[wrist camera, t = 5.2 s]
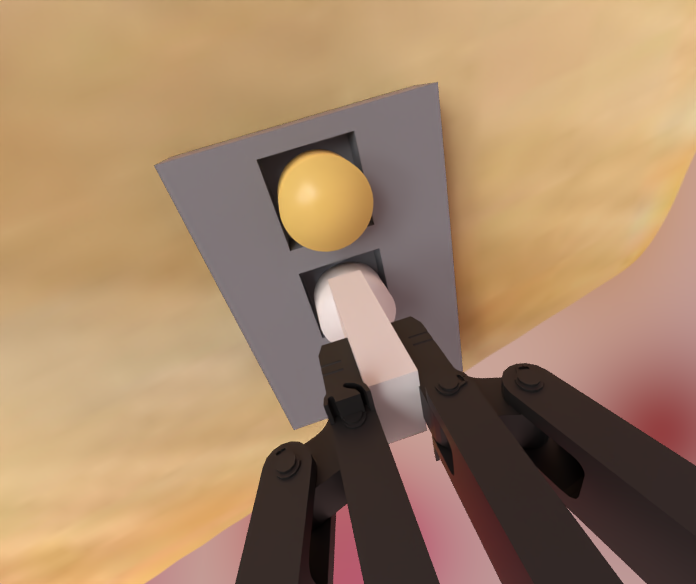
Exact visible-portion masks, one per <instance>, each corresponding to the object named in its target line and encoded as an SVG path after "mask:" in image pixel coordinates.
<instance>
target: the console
mask: <svg viewBox="0 0 696 584" xmlns="http://www.w3.org/2000/svg"><path fill="white" fill-rule="evenodd" d="M313 149H324V150H329V151H332V152H335V153H337V154H339V155H340V156H342V157H343V158H345V159H346V160H348V161H349V162H351V163H352V164H353V165H355V166H356V167H357V168H358V169H359V170H360V171H361V172H362V173H363V174H364V175H365V177H366V178H367V180H368V182H369V184H370V187H371V190H372V194H373V212H372V216H371V219H370V222H369V224H368V226H367V228H366V229H365V231H364V232H363V234H362V235H361V236H360V237H359V238H358V239H357V240H356V241H354V242H353V243H352V244H350V245H348V246H346V247H344V248H342V249H339V250H335V251H329V252H322V251H315V250H311V249H309V248H306V247H304V246H302V245H300V244H299V243H298V242H296V241H295V240H294V239H293V238H292V237H291V236H290V235H289V233H288V232H287V231H286V229H285V227H284V225H283V223H282V220H281V217H280V212H279V204H278V191H277V189H278V182H279V178H280V176H281V173H282V171H283V169H284V168H285V166H286V165H287V164H288V163H289V162H290V161H291V160H292V159H293V158H294V157H295V156H297V155H299V154H300V153H302V152H305V151H308V150H313ZM154 166H155V168H156V170H157V172H158V174H159V176H160V178H161V180H162V182H163V183H164V185H165V187H166V189H167V191H168V193H169V195H170V197H171V199H172V200H173V202H174V204H175V206H176V208H177V210H178V212H179V214H180V216H181V217H182V219H183V221H184V223H185V225H186V227H187V229H188V231H189V233H190V235H191V236H192V238H193V240H194V242H195V244H196V246H197V248H198V250H199V252H200V253H201V255H202V257H203V259H204V261H205V263H206V265H207V267H208V269H209V270H210V272H211V274H212V276H213V278H214V280H215V282H216V284H217V286H218V287H219V289H220V291H221V293H222V295H223V297H224V299H225V301H226V303H227V304H228V306H229V308H230V310H231V312H232V314H233V316H234V318H235V320H236V322H237V323H238V325H239V327H240V329H241V331H242V333H243V335H244V337H245V339H246V340H247V342H248V344H249V346H250V348H251V350H252V352H253V354H254V356H255V357H256V359H257V361H258V363H259V365H260V367H261V369H262V371H263V373H264V374H265V376H266V378H267V380H268V382H269V384H270V386H271V388H272V390H273V391H274V393H275V395H276V397H277V399H278V401H279V403H280V405H281V407H282V409H283V410H284V412H285V414H286V416H287V418H288V420H289V422H290V424H291V426H292V427H293V429H294V430H295V429H298V428H301V427H304V426H307V425H310V424H312V423H315V422H318V421H321V420H324V419H327V418H328V417H327V414H326V411H325V409H324V406H323V403H324V397H325V395H326V390H325V385H324V380H323V375H322V371H321V366H320V362H319V357H318V356H319V352H320V349H321V346H322V345H325V344H328V343H331V342H330V341H329V340H328V339H327V338H326V337H325V335H324V334H323V332H322V330H321V326H320V322H319V318H318V314H317V310H316V306H315V301H314V290H315V286H316V283H317V281H318V280H319V278H320V277H321V276H322V274H323V273H324V272H325V271H327V270H328V269H329V268H331V267H333V266H335V265H337V264H339V263H343V262H360V263H363V264H366V265H368V266H369V267H371V268H372V269H373V270H374V271H375V272H376V273H377V274H378V276H379V277H380V279H381V281H382V282H383V284H384V285H385V287H386V288H387V290H388V291H389V293H390V294H391V296H392V297H393V300H394V302H395V306H396V315H395V320H394V321H397V320H400V319H403V318H407V317H410V316H411V317H413V318H415V319H417V320H418V321H420V322H422V324H423V325H424V327H425V328H426V329H427V331H428V333H429V334H430V335H431V336H432V338H433V340H434V341H435V342H436V343H437V345H438V346H439V347H440V349H441V350H442V352H443V353H444V354H445V356H446V357H447V359H448V360H449V361H450V363H451V364H452V366H453V367H454V368H455V369H457V370H459V371H463V367H462V356H461V344H460V333H459V321H458V310H457V298H456V287H455V275H454V264H453V252H452V241H451V229H450V218H449V206H448V195H447V183H446V171H445V160H444V148H443V137H442V125H441V114H440V102H439V91H438V82H435V83H428V84H421V85H414V86H411V87H408V88H404V89H401V90H397V91H394V92H391V93H387V94H384V95H380V96H377V97H373V98H370V99H367V100H363V101H360V102H356V103H353V104H350V105H346V106H343V107H339V108H336V109H333V110H329V111H326V112H322V113H319V114H316V115H312V116H309V117H305V118H302V119H299V120H295V121H292V122H288V123H285V124H282V125H278V126H275V127H271V128H268V129H265V130H261V131H258V132H254V133H251V134H247V135H244V136H241V137H237V138H234V139H230V140H227V141H224V142H220V143H217V144H213V145H210V146H207V147H203V148H200V149H196V150H193V151H190V152H186V153H183V154H179V155H176V156H173V157H170V158H168V159H166V160H164V161H162V162H160V163H158V164H156V165H154Z"/></svg>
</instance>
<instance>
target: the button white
mask: <svg viewBox="0 0 696 584" xmlns="http://www.w3.org/2000/svg"><path fill="white" fill-rule="evenodd" d="M358 270H360V271H361V273H362V274H363V276H364V278H365V280H366V281H367V283H368V285H369V287H370V288H371V290H372V292H373V294H374V295H375V297H376V299H377V300H378V302H379V304H380V306H381V307H382V309H383V311H384V313H385V314H386V316H387V318H388V320H389V321H390V323H391V322H394V320H395V315H396V306H395V302H394V300H393V297H392V296H391V294H390V293H389V291H388V290H387V288H386V287H385V285H384V284H383V282H382V281H381V279H380V277H379V276H378V274H377V273H376V272H375V271H374V270H373V269H372V268H371V267H369V266H368V265H366V264H363V263H360V262H343V263H339V264H337V265H335V266H333V267H331V268H329V269H328V270H327V271H325V272H324V273H323V274H322V276H321V277H320V278H319V280H318V281H317V283H316V286H315V290H314V301H315V306H316V310H317V314H318V318H319V322H320V326H321V330H322V332H323V334H324V335H325V337H326V338H327V339H328V340H329V341H330V342H334V341H337V340H340V339H344V338H345V336H344V333H343V330H342V327H341V324H340V320H339V317H338V314H337V310H336V307H335V303H334V300H333V297H332V293H331V290H330V286H329V283H328V279H331V278H335V277H338V276H341V275H345V274H348V273H351V272H354V271H358Z"/></svg>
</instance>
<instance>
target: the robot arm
mask: <svg viewBox="0 0 696 584" xmlns="http://www.w3.org/2000/svg"><path fill="white" fill-rule="evenodd" d="M328 283H329V286H330V290H331V293H332V297H333V300H334V303H335V307H336V310H337V314H338V317H339V320H340V324H341V327H342V330H343V333H344V336H345V338H344V339H340V340H337V341H334V342H331V343H328V344H325V345H322V346H321V349H320V352H319V356H318V357H319V362H320V366H321V371H322V375H323V380H324V385H325V390H326V395H325V397H324V403H323V406H324V409H325V411H326V414H327V417H328V419H329V420H328V422H327V424H326V426H325V427H324V428H323V430H322V431H321V432H320V433H319V434H318V435H316V436H315V437H314V438H312V439H311V440H310V441H308V442H307V443H305V444H302V443H300V442H288V443H284V444H282V445H280V446H279V447H277V448H276V449H274V450H273V451H272V452H271V454H270V455H269V456H268V457H267V459H266V461H265V464H264V466H263V469H262V473H261V477H260V482H259V486H258V490H257V494H256V498H255V503H254V507H253V511H252V515H251V520H250V524H249V528H248V532H247V536H246V541H245V545H244V550H243V553H242V558H241V562H240V566H239V570H238V574H237V578H236V583H235V584H333V571H334V547H335V523H336V512H337V511H338V510H340V509H341V508H342V507H343V506H345V505H346V504H348V509H349V514H350V518H351V523H352V528H353V533H354V538H355V542H356V547H357V551H358V557H359V561H360V566H361V571H362V575H363V580H364V584H440V583H439V580H438V578H437V575H436V572H435V570H434V567H433V564H432V561H431V559H430V556H429V553H428V551H427V548H426V545H425V542H424V540H423V537H422V534H421V532H420V529H419V526H418V524H417V521H416V518H415V515H414V513H413V510H412V507H411V504H410V502H409V499H408V496H407V493H406V491H405V488H404V485H403V483H402V480H401V477H400V474H399V472H398V469H397V467H396V463H395V461H394V458H393V455H392V453H391V450H390V447H389V444H390V443H393V442H395V441H398V440H401V439H404V438H407V437H410V436H413V435H416V434H419V433H421V432H424V431H427V428H426V424H427V425H428V428H429V429H430V431H431V433H432V439H433V445H434V453H435V458H436V461H438V460H440V459H441V461H442V463H443V465H444V467H445V469H446V471H447V473H448V475H449V477H450V479H451V482H452V484H453V486H454V488H455V489H456V492H457V494H458V496H459V498H460V500H461V502H462V504H463V506H464V508H465V510H466V512H467V514H468V516H469V518H470V520H471V522H472V524H473V526H474V528H475V530H476V532H477V534H478V536H479V538H480V540H481V542H482V544H483V547H484V549H485V550H486V553H487V555H488V557H489V559H490V561H491V563H492V565H493V567H494V569H495V571H496V573H497V575H498V577H499V579H500V581H501V583H502V584H623V582H622V581H621V580H620V578H619V577H618V576H617V574H616V573H615V572H614V570H613V569H612V568H611V566H610V565H609V564H608V562H607V561H606V560H605V558H604V557H603V556H602V554H601V553H600V552H599V550H598V549H597V548H596V546H595V545H594V544H593V542H592V541H591V539H590V538H589V537H588V535H587V534H586V533H585V531H584V530H583V529H582V527H581V526H580V525H579V523H578V522H577V521H576V519H575V518H574V517H573V515H572V514H571V513H570V511H571V512H572V513H573V514H575V515H576V516H577V517H578V518H579V519H580V520H581V521H582V522H583V523H584V524H585V525H586V526H587V527H588V528H589V529H590V530H591V531H592V532H593V533H594V534H595V535H596V536H598V537H599V538H600V539H601V540H602V541H603V542H604V543H605V544H606V545H607V546H608V547H609V548H610V549H611V550H612V551H613V552H614V553H615V554H616V555H617V556H619V557H620V558H621V559H622V560H623V561H624V562H625V563H626V564H627V565H628V566H629V567H630V568H631V569H632V570H633V571H634V572H635V573H636V574H637V575H639V577H640V578H641V579H643V580H644V581H645V582H646V583H647V584H696V466H695V465H694V464H692V463H691V462H689V461H687V460H686V459H684V458H683V457H681V456H680V455H678V454H676V453H675V452H673V451H672V450H670V449H669V448H667V447H666V446H664V445H662V444H661V443H659V442H658V441H656V440H654V439H653V438H651V437H650V436H648V435H647V434H645V433H644V432H642V431H641V430H639V429H638V428H636V427H634V426H633V425H631V424H629V423H628V422H627V421H625V420H623V419H622V418H620V417H619V416H617V415H616V414H614V413H613V412H611V411H610V410H608V409H606V408H605V407H603V406H602V405H600V404H599V403H597V402H595V401H594V400H592V399H591V398H589V397H588V396H586V395H585V394H583V393H581V392H580V391H578V390H577V389H575V388H574V387H572V386H571V385H569V384H567V383H566V382H564V381H563V380H561V379H559V378H558V377H557V376H555V375H553V374H552V373H550V372H549V371H547V370H545V369H543V368H541V367H539V366H537V365H533V364H527V363H524V364H515V365H512V366H510V367H508V368H507V369H506V370H505V371H504V372H503V376H502V377H501V378H473V377H469V376H467V375H466V374H465V373H464V372H462V371H459V370H457V369H455V368H454V367H453V366H452V364H451V363H450V361H449V360H448V359H447V357H446V356H445V354H444V353H443V352H442V350H441V349H440V347H439V346H438V345H437V343H436V342H435V341H434V340H433V338H432V336H431V335H430V334H429V333H428V331H427V329H426V328H425V327H424V325H423V324H422V322H420V321H418V320H417V319H415V318H413V317H411V316H410V317H407V318H403V319H400V320H397V321H394V322H391V323H390V321H389V320H388V318H387V316H386V314H385V313H384V311H383V309H382V307H381V306H380V304H379V302H378V300H377V299H376V297H375V295H374V294H373V292H372V290H371V288H370V287H369V285H368V283H367V281H366V280H365V278H364V276H363V274H362V273H361V271H360V270H358V271H354V272H351V273H348V274H345V275H341V276H338V277H335V278H331V279H328ZM439 457H440V458H439ZM567 508H568V509H569V510H570V511H569V510H568V509H567Z"/></svg>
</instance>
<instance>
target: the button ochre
mask: <svg viewBox="0 0 696 584" xmlns="http://www.w3.org/2000/svg"><path fill="white" fill-rule="evenodd" d="M277 191H278V204H279V212H280V217H281V220H282V223H283V225H284V227H285V229H286V231H287V232H288V233H289V235H290V236H291V237H292V238H293V239H294V240H295V241H296V242H298V243H299V244H300V245H302V246H304V247H306V248H309V249H311V250H315V251H322V252H329V251H335V250H339V249H342V248H344V247H346V246H348V245H350V244H352V243H353V242H354V241H356V240H357V239H358V238H359V237H360V236H361V235H362V234H363V232H364V231H365V229H366V228H367V226H368V224H369V222H370V219H371V216H372V212H373V194H372V190H371V187H370V184H369V182H368V180H367V178H366V177H365V175H364V174H363V173H362V172H361V171H360V170H359V169H358V168H357V167H356V166H355V165H353V164H352V163H351V162H349V161H348V160H346V159H345V158H343V157H342V156H340V155H339V154H337V153H335V152H332V151H329V150H324V149H313V150H308V151H305V152H302V153H300V154H299V155H297V156H295V157H294V158H293V159H292V160H291V161H290V162H289V163H288V164H287V165H286V166H285V168H284V169H283V171H282V173H281V176H280V178H279V182H278V189H277Z"/></svg>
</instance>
